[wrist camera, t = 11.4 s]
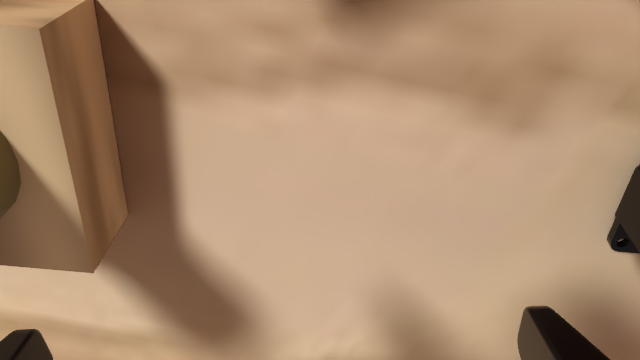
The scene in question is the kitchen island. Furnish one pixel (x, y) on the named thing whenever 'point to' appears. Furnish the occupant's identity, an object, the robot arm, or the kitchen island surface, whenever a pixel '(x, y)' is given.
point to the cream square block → (58, 137)
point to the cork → (8, 176)
